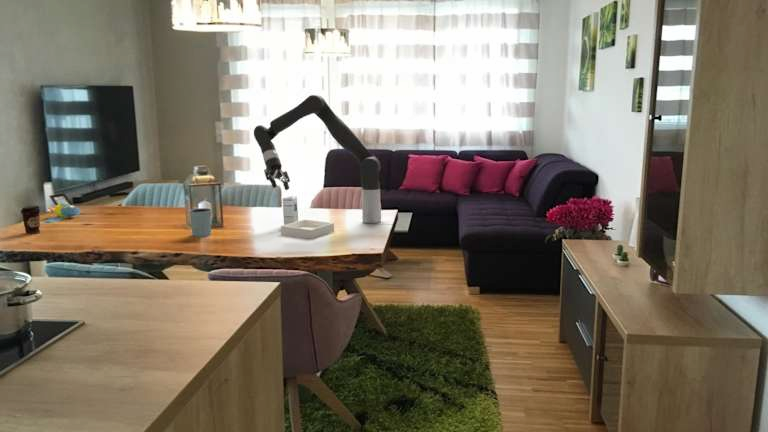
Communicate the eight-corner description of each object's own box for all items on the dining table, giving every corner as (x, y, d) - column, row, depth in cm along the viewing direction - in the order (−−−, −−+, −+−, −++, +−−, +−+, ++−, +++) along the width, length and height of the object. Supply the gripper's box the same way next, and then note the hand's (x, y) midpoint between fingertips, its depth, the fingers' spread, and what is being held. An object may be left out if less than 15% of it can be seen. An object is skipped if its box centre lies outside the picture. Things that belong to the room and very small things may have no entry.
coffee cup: (47, 231, 318) (44, 205, 315) (33, 235, 310) (30, 208, 308) (33, 230, 321) (30, 204, 318) (19, 234, 313) (16, 207, 310)
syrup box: (294, 226, 323) (293, 198, 320) (283, 226, 324) (282, 197, 321) (298, 224, 328) (297, 196, 325) (287, 224, 329) (286, 196, 326)
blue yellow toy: (67, 198, 366) (91, 199, 364) (68, 213, 368) (93, 214, 365) (33, 207, 339) (60, 208, 337) (35, 223, 341) (61, 224, 338)
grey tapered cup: (193, 237, 301) (191, 212, 298) (188, 233, 310) (187, 209, 307) (215, 235, 305) (213, 210, 303) (210, 231, 314) (208, 207, 312)
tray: (305, 227, 321) (304, 219, 320) (334, 231, 312) (334, 222, 311) (281, 234, 306) (280, 226, 305) (311, 238, 297) (310, 230, 296)
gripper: (266, 154, 318) (275, 182, 312) (286, 159, 329) (296, 186, 324) (256, 162, 322) (265, 190, 316) (277, 166, 333) (286, 193, 327)
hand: (281, 188), depth 320 cm, fingers open, 8 cm apart
